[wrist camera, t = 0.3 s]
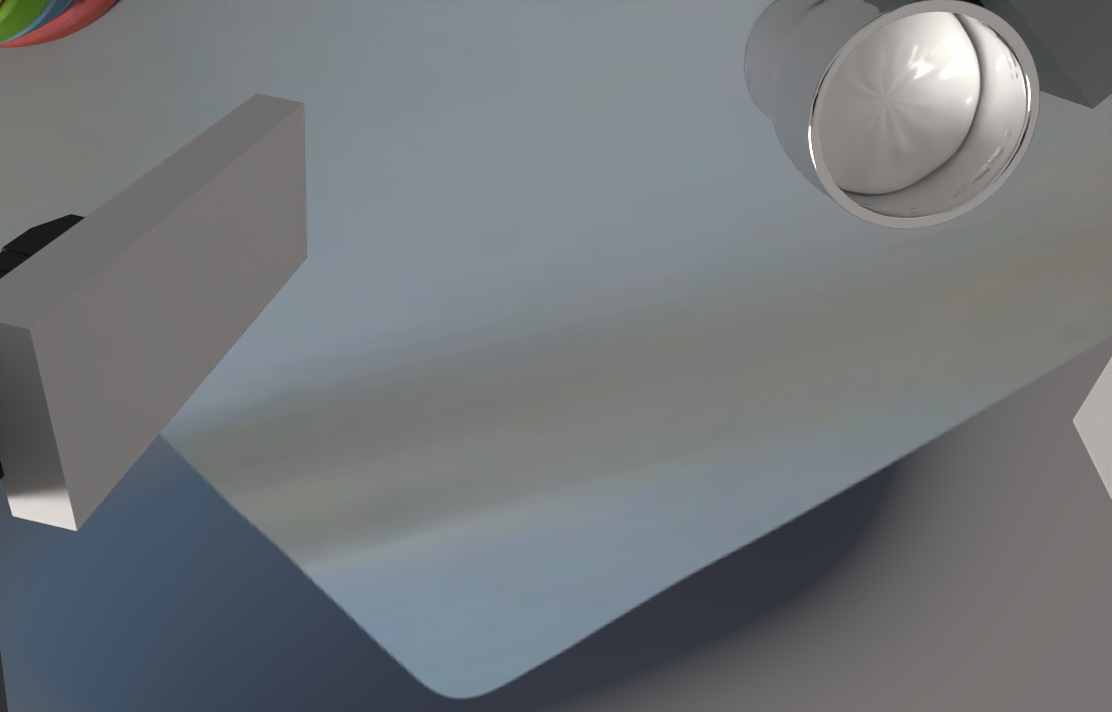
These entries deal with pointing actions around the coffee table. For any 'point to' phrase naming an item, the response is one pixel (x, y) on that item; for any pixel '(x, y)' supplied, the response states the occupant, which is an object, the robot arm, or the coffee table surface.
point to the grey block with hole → (1065, 44)
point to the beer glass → (896, 102)
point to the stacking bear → (46, 19)
